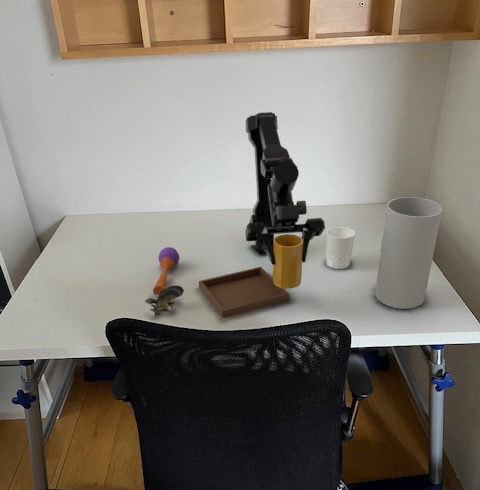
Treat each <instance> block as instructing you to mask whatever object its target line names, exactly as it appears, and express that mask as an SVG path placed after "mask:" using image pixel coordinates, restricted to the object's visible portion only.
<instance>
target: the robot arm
mask: <svg viewBox="0 0 480 490" xmlns="http://www.w3.org/2000/svg"><path fill="white" fill-rule="evenodd" d="M278 127H279V126H278V116H277V115H276V114H275V112H273V111H268V112H267V111H266V112H258V113H255V115H254V114H253V115H249V116H248V117H247V118H246V119H245V133H246V134H247V137H248V141H249V143H250V144H251V146H252V147H253V148H254V149H253V150H254V165H255V182H256V184H255V185H256V199H257V200H256V202H255V204H254V205H253V207H252V214H251V215H250V218H249V223H248V224H246V228H245V241H246V242H254V244H252V245H250V248H251V249H252V250H253V251H254V252H255V253H256V254H257V255H258V256H263V255H266V256H267V258H268V259H269V261H270V262H271V263H270V264H271V265H272V266H273V265H275V259H274V254H273V241H274V239H275V235H284V234H295V233H301V236H300V237H301V238H302V239H303V259H302V264H304V263H306V260H307V254H308V248H309V245H310V241H312V240H313V239H314V237H320V236H321V235H322V234H323V232H324V230H325V229H326V224H325V220H324V219H323V218H322V217H315V218H307V219H306V220H305V223H298V222H299V219H300V216H301V215H303V216H304V215H307V213H308V212H307V211H308V210H307V202H306V200H298V201H297V200H296V204H295V203H294V200H293V193H292V191H293V190H294V188H295V186H296V183H297V182H298V178H299V175H300V171H299V168H298V166H297V165H296V163H295V162H294V161H293V158H292V157H291V155H290V153H289V151H288V149H287V148H285V147H283V145H282V144H281V140H280V137H279V133H278V129H279V128H278ZM297 223H298V224H297Z"/></svg>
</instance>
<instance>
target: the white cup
mask: <svg viewBox="0 0 480 490" xmlns="http://www.w3.org/2000/svg"><path fill="white" fill-rule="evenodd" d="M355 236H356V231H355V230H353V228H350V227H346V226H332V227H330V228H328V229H327V230H326V242H325V243H326V244H325V245H326V247H325V253H326V254H325V255H326V260H325V261H326V263H325V264H326V265H327V267H328V268H331V269H335V270H343V269H347V268H348V267H350V264H351V258H352V254H353V248H354V242H355Z"/></svg>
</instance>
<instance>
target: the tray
mask: <svg viewBox="0 0 480 490" xmlns="http://www.w3.org/2000/svg"><path fill="white" fill-rule="evenodd" d="M198 289H199V290H200V291H201V292H202V294H203V295H204V296H205V297H206V299H207V300H208V301H209V302H210V304H211V305H212V307H213V308H214V309H215V310H216V312H217V313H218V314H219V316H220V317H221V318H222V319H224V318H228V317H232V316H237V315H239V314H243V313H247V312H251V311H255V310H259V309H262V308H267V307H270V306H274V305H278V304H281V303H285V302H289V301H290V293H289V292H288V291H287V290H286V289H285V288H280V287H277V286H276V285H275V284H274V283H273V276H271V275H270V274H269V273H268V272H267V271H266V270H265V269H264V268H263V267H262V266H257V267H253V268H249V269H245V270H244V269H243V270H240V271H235V272H232V273H228V274H223V275H219V276H214V277H211V278H206V279H202V280H198Z"/></svg>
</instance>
